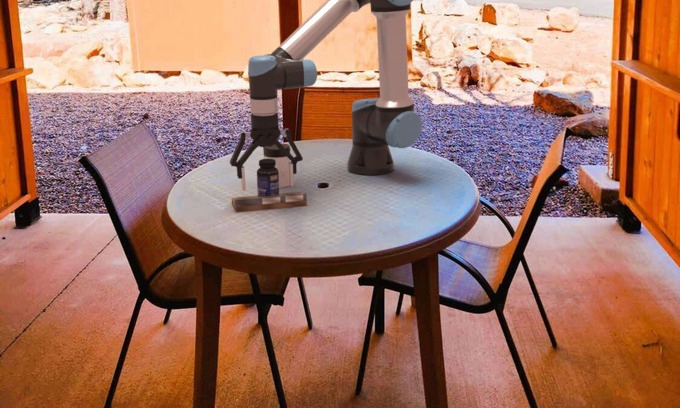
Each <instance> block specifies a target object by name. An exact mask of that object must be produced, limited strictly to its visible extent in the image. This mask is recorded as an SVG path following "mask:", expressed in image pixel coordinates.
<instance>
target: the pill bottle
mask: <svg viewBox="0 0 680 408" xmlns="http://www.w3.org/2000/svg"><path fill="white" fill-rule="evenodd" d="M275 165H276V160H274V159H264V158H263V159H259V161H258V166H259V168H258V169H256V180H257V181H256V183H257V185H256V186H257V195H258V197H265V196H276V195H279V193H280V188H279V172H278V169H277V168H275Z"/></svg>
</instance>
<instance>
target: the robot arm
mask: <svg viewBox="0 0 680 408" xmlns="http://www.w3.org/2000/svg"><path fill="white" fill-rule="evenodd" d="M413 1H414V0H325V2H324V3H322V4H321V6H319V7H318V8H317V9H316V10H315V11H314V12H313V13H312V14H311V15H310V16H309V17H308V18H307V19H306V20H304V22H303V23H302V24H300V25H299V26H298V27H297V28H296V29H295V30H294V31H293V32H292V33H291V34H290V35H289V36H288V37H287V38H286V39H284V41H283V42H282V43H280V45H278V47H277V48H275V50H273V51H272V52H271V53H268V54H263V55H262V54H261V55H260V54H259V55H255V56H254V55H253V56H251V57H249V59H248V69H247V71H248V72H247V75H248V85H249V86H248V87H249V88H248V89H249V105H250V108H249V109H250V113H251V115H250V127H251V128H250V131H249V132H248V131H243V130H240V132H239V140H238V141H237V144H236V146H235V148H234V151H233V153H232V155H231V158H230V160H229V164H230V165H231V167H236V176H237V179H238V180H239V179H240V182H241V189H242V191H244V192H245V191H246V190H247V189H246V172H245V171H246V170H245V166H244V164H245V163H246V162H247V160H248V159H249V158H250V157H251V155H252V154H253V152H254V151H255V150H256V149H257V148H258V147H259V148H263V147H265V146H268V147H271V146H273V145H274V144H275V145H276V146H277V147H278V148H279V149H280V150H281V151H282V152H283V153H284V154H285V155H286V156H287V157H288V158H289V159H290V162H288V166H289V184H290V186H289V187H295V186H294V185H295V184H294V175H296V174H297V172H298V171H297V164H298V162H301V161H303V156H302V154H301V152H300V150H299V149H298V147H297V145H296V142H295V141H294V140H293V138H292V135H291V130H290V129H289V128H288V127H285V128H284V129H280V128H279V114H278V112H279V104H278V91H281V90H289V89H290V90H291V89H301V88H304V89H305V88H307V87H312V86H314V85H315V84H316V82H317V79H318V70H317V66H316V63H315V62H314V61H312V60H311V59H304V58H306V57H307V56H308V55H309V54H310V53H311V52H312V51H313V50H314V49H315V48H316V47H317V46H318V45H319V44H320V43H321V42H322V41H324V39H325V38H326V37H327V36H329V34H330V33H331V32H332V31H333V30H335V29H336V28H337V27H338V26H339V25H340V24H341V23H342V22H343V21H344V20H345V19H346V18H347V17H348V16H350V14H351V13H357V12H359V10H360V9H362V8H363V7H365V6H366V5H368V4H369V5H370V13H371V14H372V15H373V16H375V18H376V19H375V20H376V34H377V35H376V36H377V37H376V38H377V57H378V61H377V62H378V76H379V77H378V78H379V79H378V80H379V81H378V82H379V97H375V98H374V97H373V98H363V99H357V100H354V101H353V103H352V105H351V106H352V107H351V121H352V123H351V126H352V129H351V131H352V132H351V133H352V135H351V136H352V137H351V138H352V145H351V150H350V153H349V156H348V159H347V166H346V167H347V168H346V169H347V171H349V172H350V173H352V174H357V175H363V176H374V175H384V174H388V172H389V173H390V172H393V171H394V169H395V167H394V166H395V164H394V159H393V155H392V153H391V149H390V147H391V148H398V149H406V148H409V147H411V146H412V145H413V144H415V143H416V141H417V140H418V139H419V138H420V135H421V134H422V130H423V123H422V121H423V120H422V118H421V116H419V114H418V113H417V112H415V102H414V100H413V99H412V98H411V97H410V96H409V70H408V68H409V67H408V49H407V47H408V44H407V42H408V41H407V40H408V39H407V17H406V16H407V15H408V13H409V12H410V11H411V9H412V8H411V7H412V5H411V4H412V3H413ZM281 135H282V136H283V137H284V138H286V141H287V142H288V145H289V146H290V149H291V150H292V151H293V152H294V155H295V156H293V155H292V154H291V152H290V153H289V152H288V151H287V150H286V149H285V148H284V147H283V146H282V144H281V143H282V142H280V141H279V138H280V137H281ZM249 138H251V139H252V141H251V143H250V144H249V146H248V147H247V148H246V149H245V151H244V152H243V154H242V155H241V152H242V150H243V147H244V145H245V143H246V141H247V140H249ZM389 146H390V147H389ZM240 155H241V157H240ZM239 157H240V158H239ZM392 170H393V171H392Z"/></svg>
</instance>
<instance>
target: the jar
mask: <svg viewBox="0 0 680 408" xmlns="http://www.w3.org/2000/svg"><path fill="white" fill-rule="evenodd" d="M280 143H281V144H282V146H283V147H284V148H285V149H286V150H287V151H288V152H289V153H290V154H291V146H290V144H289V143H288V144H287V143H282V142H280ZM262 148H263V150H262V153H263V159H274V160H276V165H275V168H277V169H278V172H279V189H280V188H286V187H291V186H290V184H289V166H288V162H291V160H290V159H289V158H288V157H287V156H286V155H285V154H284V153H283V152H282V151H281V150H280V149H279V148H278V147H277V146H276V145H275V144H274V145H273V146H271V147H268V146H265V147H262Z"/></svg>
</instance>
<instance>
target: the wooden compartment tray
mask: <svg viewBox="0 0 680 408" xmlns="http://www.w3.org/2000/svg"><path fill="white" fill-rule="evenodd" d="M307 194H308V193H307V192H301V191H293V192H292V191H291V192H281V193H280V192H279V195H276V196H265V197H258V194H257V195H248V196H236V197H235V196H234V197H231V204H232V207H233V209H234V211H235V213H244V212H245V213H246V212H254V211H255V212H256V211H264V210H265V211H266V210H276V209H287V208H288V209H289V208H296V207H297V208H298V207H305V206H306V207H307V206H308V205H307V204H308V203H307V202H308V201H307V197H308V196H307Z"/></svg>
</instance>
